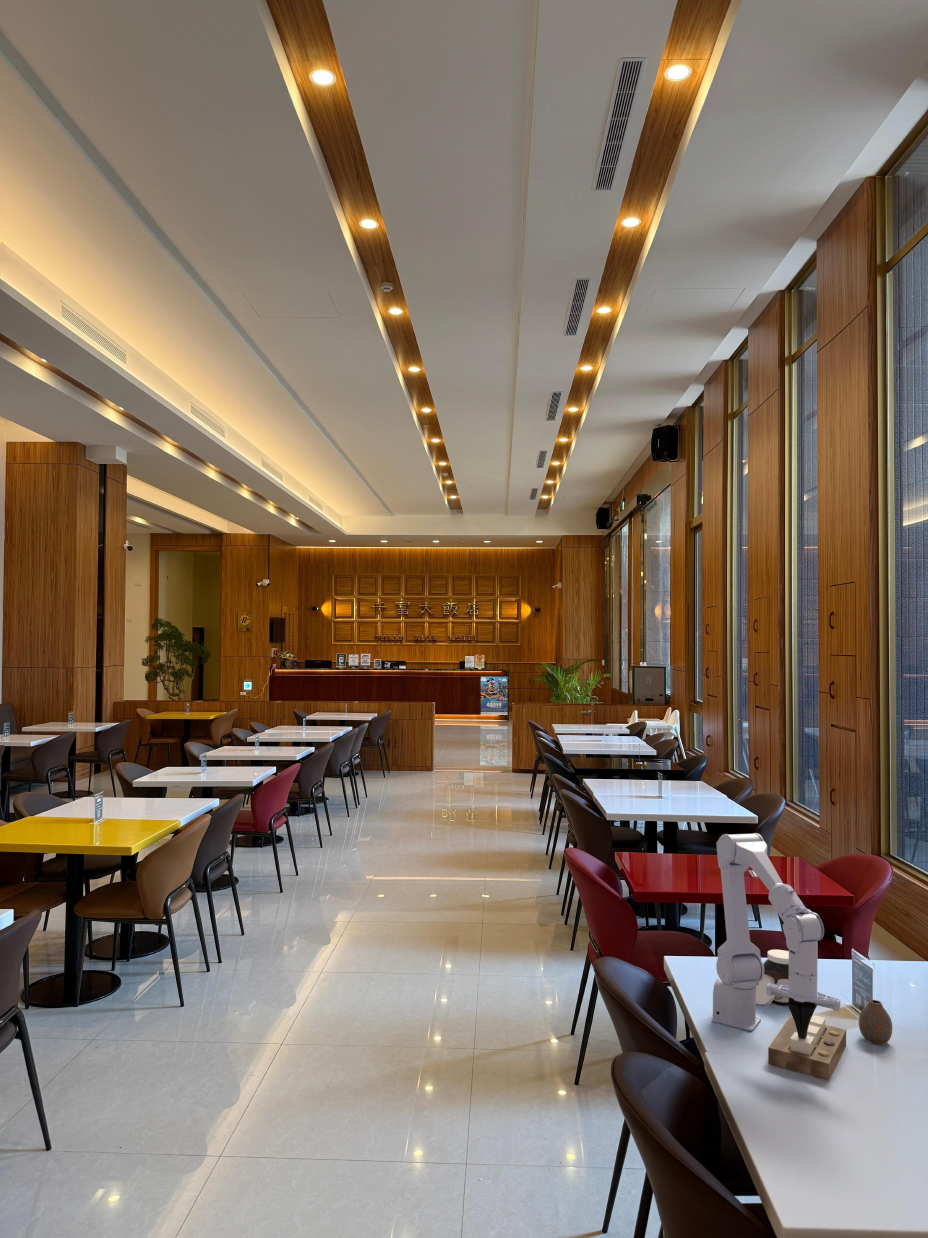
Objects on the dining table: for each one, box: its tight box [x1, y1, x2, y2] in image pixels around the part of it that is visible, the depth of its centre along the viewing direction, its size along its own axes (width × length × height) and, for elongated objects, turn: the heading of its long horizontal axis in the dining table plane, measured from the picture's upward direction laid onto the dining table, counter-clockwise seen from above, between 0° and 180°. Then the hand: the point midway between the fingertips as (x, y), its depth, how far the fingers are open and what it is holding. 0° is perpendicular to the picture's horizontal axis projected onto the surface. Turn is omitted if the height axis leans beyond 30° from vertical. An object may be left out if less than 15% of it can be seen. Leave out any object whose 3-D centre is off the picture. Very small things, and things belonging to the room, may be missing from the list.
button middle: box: [807, 1025, 820, 1045], centre depth 183 cm, size 4×4×4 cm
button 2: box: [809, 1014, 826, 1035], centre depth 188 cm, size 4×4×4 cm
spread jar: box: [756, 949, 789, 1007], centre depth 212 cm, size 12×11×12 cm
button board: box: [767, 1015, 847, 1082], centre depth 183 cm, size 12×20×4 cm, turn 146°
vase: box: [858, 999, 893, 1046], centre depth 191 cm, size 7×7×9 cm
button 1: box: [790, 1032, 814, 1056], centre depth 178 cm, size 4×4×4 cm
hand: (802, 1036), depth 178 cm, fingers closed
